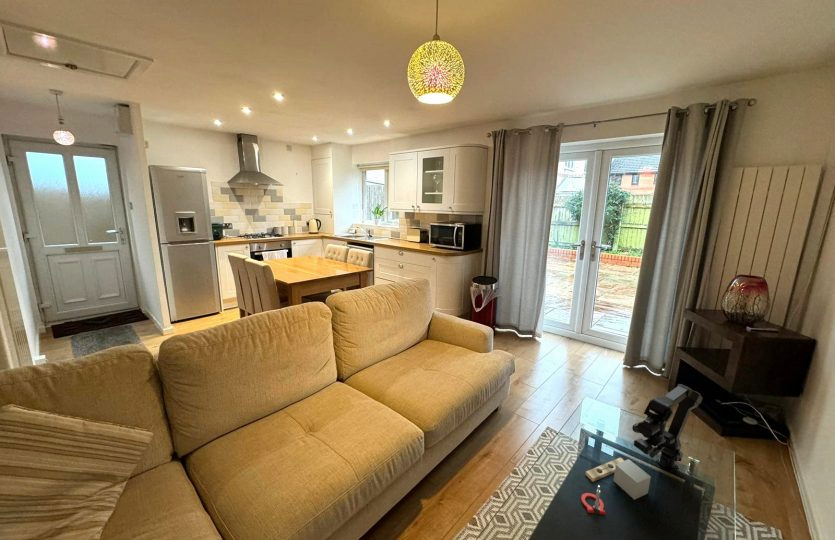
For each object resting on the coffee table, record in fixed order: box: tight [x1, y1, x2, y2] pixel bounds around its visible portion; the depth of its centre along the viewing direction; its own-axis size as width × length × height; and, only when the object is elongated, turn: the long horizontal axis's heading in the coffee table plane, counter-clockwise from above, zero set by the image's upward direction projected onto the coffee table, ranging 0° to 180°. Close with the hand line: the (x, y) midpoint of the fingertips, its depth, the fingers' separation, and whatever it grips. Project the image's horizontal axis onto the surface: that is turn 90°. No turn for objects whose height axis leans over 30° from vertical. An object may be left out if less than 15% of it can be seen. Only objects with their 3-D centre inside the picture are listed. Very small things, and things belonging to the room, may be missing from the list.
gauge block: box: [612, 458, 652, 501], centre depth 143 cm, size 8×10×9 cm
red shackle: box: [580, 485, 606, 516], centre depth 135 cm, size 8×13×9 cm
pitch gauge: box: [585, 457, 626, 482], centre depth 152 cm, size 22×4×2 cm, turn 110°
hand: (651, 457), depth 145 cm, fingers closed
